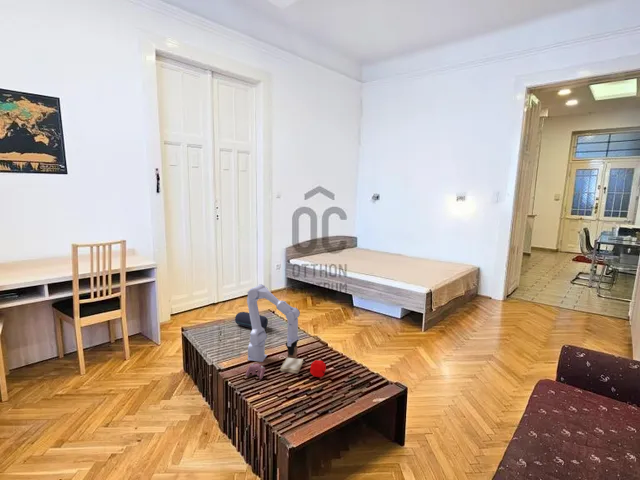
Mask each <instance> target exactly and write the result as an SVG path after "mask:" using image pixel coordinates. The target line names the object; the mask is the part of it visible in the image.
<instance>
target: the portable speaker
mask: <svg viewBox="0 0 640 480" xmlns="http://www.w3.org/2000/svg"><path fill="white" fill-rule="evenodd" d="M259 316H260V321H261V327H262V328H264V330H266V329H267V327H268V323H269V319H268V317H266V316H264V315H261V314H259ZM234 322H235V324H236V325H238V326H240V327H245V328H249V329H252V325H251V320H250V314H249V311H248V312H247V311H241V312H238V313H236V315H235V317H234Z"/></svg>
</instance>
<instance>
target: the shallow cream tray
mask: <svg viewBox="0 0 640 480" xmlns="http://www.w3.org/2000/svg"><path fill="white" fill-rule="evenodd" d="M284 359H285V360H284V361H283V363H282V365H281V367H280V372H283V373H291V374H299V372H300V370H301V368H302V365H303V363H304V359H303V358H297V357H296V358H291V357H286V358H284Z"/></svg>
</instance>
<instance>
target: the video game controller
mask: <svg viewBox="0 0 640 480" xmlns="http://www.w3.org/2000/svg"><path fill="white" fill-rule="evenodd" d="M265 372H266V368H265V366H263V365H261V364H259V363H252V364H250V365H249V366H248V368H247V370H246V372H245V377H248V376H249V375H250V374H251V375H257V377H259V380H262V379H263V377H264V376H265Z"/></svg>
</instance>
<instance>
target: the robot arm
mask: <svg viewBox="0 0 640 480" xmlns="http://www.w3.org/2000/svg"><path fill="white" fill-rule="evenodd" d="M246 293H247V298H246V303H247V308H248V313H249V314H250V320H251V325H252V328H251V332H250V333H249V335H250V338H249V343H248V347H247V359H248V360H247V361H252V362H253V361H254V362H261V363H262V362H264V361H265V359H266V358H267V356H268V355H267V354H266V353H265V351H266V350H265V347H266V346H265V343H266V340H267V338H268V334H267V333H266V331H265V330H266V329H265V330H264V328H262V327H261V321H260V316H259V315H260V311H259V306H258V301H259V300H260V299H265V300H267V301H268V302H270V303H272V304H274V306H276V310H277V311H279V312H280V313H281V314H283V315H284V316H285V318H286V320H287V337H286V340H287V342H286V343H285V347H286V348H287V353H288V352H289V355H293V353H294V348H295V346H297V347H298V342H299V340H300V339H301V338H300V336H299V335H298V333H299V317H300V315H301V313H300V310H299V309H298V308H297V307H293V306H291V305H290V304H288V303H287V301H285V300H280V299H278V298H277V297H276V296H275V295H274V294H273V293H272V292H271V291H269V289H268V287H267V286H265V285H264V284H258V285H256V286H254V287H252V288H250V289H249V290H248V291H246Z"/></svg>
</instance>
